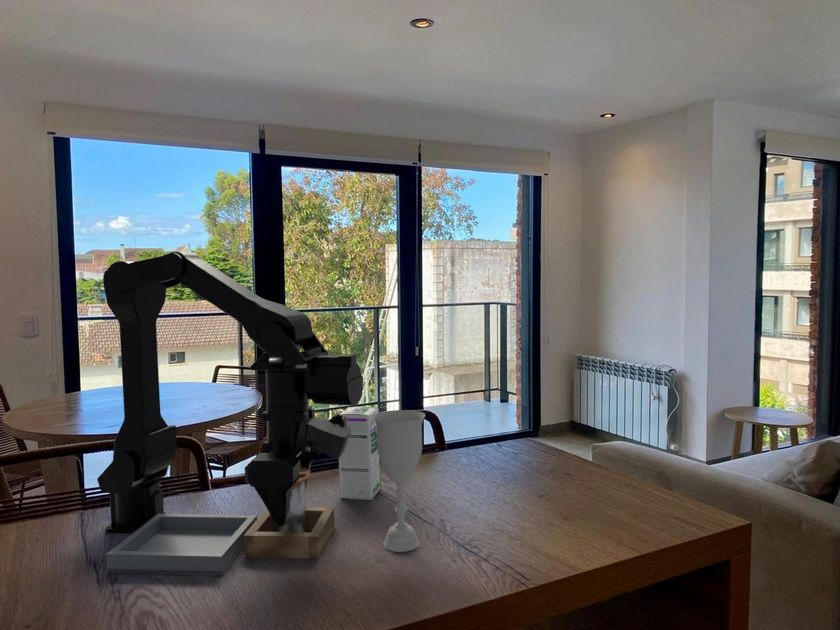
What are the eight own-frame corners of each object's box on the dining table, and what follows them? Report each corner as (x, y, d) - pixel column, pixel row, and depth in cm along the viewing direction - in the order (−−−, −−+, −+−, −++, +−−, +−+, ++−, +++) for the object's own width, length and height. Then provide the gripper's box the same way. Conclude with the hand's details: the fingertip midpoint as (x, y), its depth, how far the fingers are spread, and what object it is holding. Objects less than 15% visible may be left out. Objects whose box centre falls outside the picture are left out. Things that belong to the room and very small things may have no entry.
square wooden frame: (244, 557, 80) (243, 535, 80) (268, 526, 90) (268, 506, 90) (318, 558, 80) (317, 536, 80) (334, 527, 90) (334, 507, 89)
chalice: (387, 559, 79) (385, 424, 78) (367, 539, 85) (365, 414, 84) (436, 547, 83) (434, 417, 81) (413, 529, 89) (411, 408, 87)
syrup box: (372, 500, 100) (370, 414, 99) (338, 498, 101) (336, 413, 100) (381, 488, 106) (380, 406, 105) (349, 486, 107) (347, 405, 106)
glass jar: (266, 550, 82) (263, 478, 82) (278, 532, 88) (276, 465, 87) (306, 551, 82) (304, 479, 81) (316, 533, 88) (314, 465, 87)
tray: (107, 573, 77) (106, 554, 76) (158, 530, 90) (158, 513, 89) (222, 575, 76) (221, 556, 75) (257, 531, 88) (257, 515, 88)
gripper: (330, 418, 74) (333, 542, 75) (356, 389, 92) (359, 489, 94) (241, 418, 75) (245, 540, 76) (285, 389, 93) (288, 488, 94)
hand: (290, 512), depth 85 cm, fingers open, 9 cm apart
